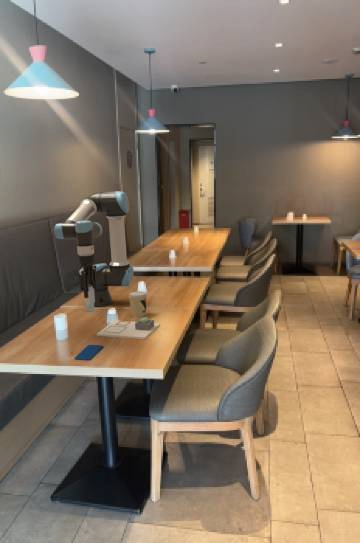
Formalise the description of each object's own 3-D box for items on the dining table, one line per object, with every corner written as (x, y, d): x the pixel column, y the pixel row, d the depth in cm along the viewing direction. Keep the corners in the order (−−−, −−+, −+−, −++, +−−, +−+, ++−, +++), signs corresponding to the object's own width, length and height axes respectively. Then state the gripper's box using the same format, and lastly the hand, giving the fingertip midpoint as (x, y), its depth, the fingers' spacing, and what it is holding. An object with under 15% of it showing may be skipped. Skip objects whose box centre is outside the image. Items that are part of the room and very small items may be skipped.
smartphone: (73, 358, 184) (88, 344, 198) (73, 360, 184) (88, 346, 198) (90, 359, 182) (104, 345, 196) (90, 362, 182) (104, 347, 196)
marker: (85, 311, 213) (83, 285, 210) (89, 309, 216) (87, 283, 213) (92, 312, 212) (90, 286, 209) (95, 310, 215) (93, 284, 212)
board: (97, 335, 211) (96, 327, 210) (115, 322, 229) (115, 314, 228) (144, 339, 203) (144, 331, 203) (159, 325, 222) (159, 317, 221)
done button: (139, 325, 215) (139, 319, 215) (142, 322, 219) (142, 317, 218) (147, 325, 214) (146, 320, 213) (150, 323, 218) (149, 317, 217)
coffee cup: (145, 317, 235) (143, 295, 232) (127, 317, 237) (126, 295, 234) (149, 312, 244) (148, 291, 241) (133, 312, 246) (132, 290, 243)
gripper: (84, 257, 199) (88, 308, 204) (101, 251, 214) (105, 298, 219) (69, 257, 202) (73, 307, 206) (87, 251, 217) (91, 298, 222)
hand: (89, 303), depth 213 cm, fingers closed on marker, 3 cm apart
